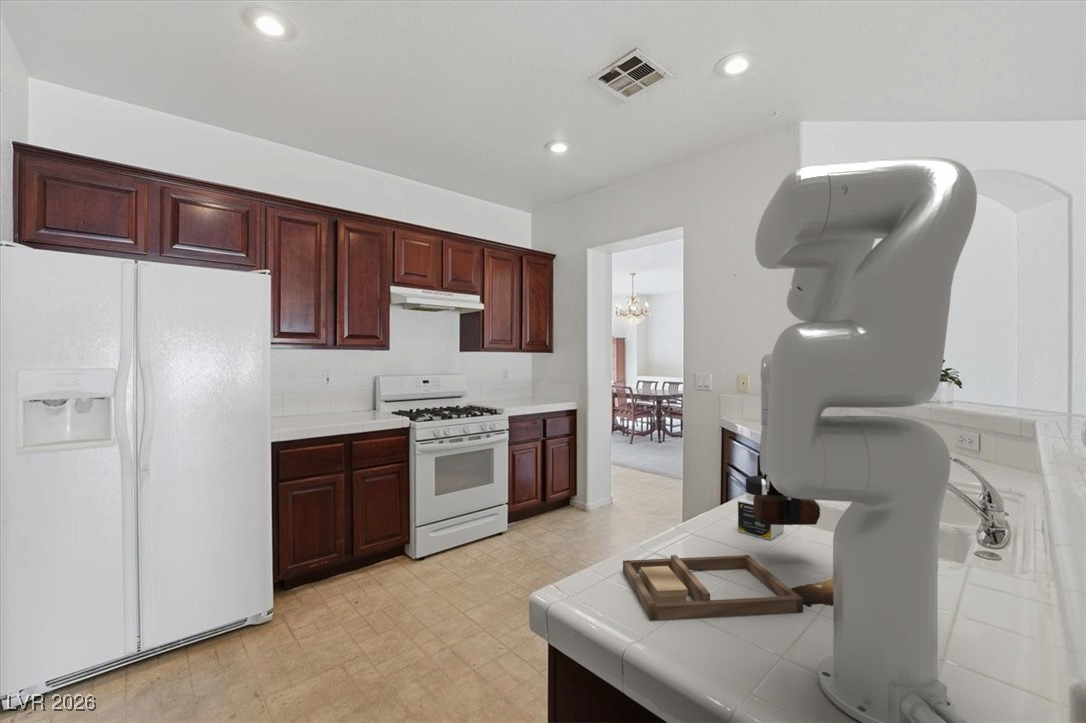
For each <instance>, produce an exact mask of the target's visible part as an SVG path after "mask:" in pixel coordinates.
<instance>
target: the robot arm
mask: <svg viewBox="0 0 1086 723" xmlns="http://www.w3.org/2000/svg"><path fill="white" fill-rule="evenodd" d="M977 193H978V192H977V185H976V182H975V180H974V177H973V176H972V173H971V172H970V170H969V169H968V168H967V167H966V166H965V165H963V163H961V162H959V161H957V160H954V159H950V158H944V157H935V156H933V157H932V156H918V157H917V156H914V157H911V156H910V157H897V158H896V157H895V158H884V159H883V158H880V159H871V160H862V161H854V162H839V163H828V164H827V163H826V164H824V163H823V164H817V165H816V164H815V165H808V166H803V167H800V168H798V169H797V168H796V169H795V170H792V171H791V172H789V174H787V176H786V177H785V178H784V179H783V180H782V182H781V183H780V185H779V187H778V188H777V189H776V192H775V193H774V195H773V196H772V198H771V200H770V201H769V203H768V204H767V206H766V208H765V210H764V212H763V214H762V216H761V218H760V220H759V223H758V227H757V231H756V234H755V242H754V244H755V245H754V248H755V249H754V250H755V256H756V261H757V262H758V264H759V265H760V266H761V267H762V268H765V269H768V270H781V269H785V270H786V269H787V270H788V269H794V270H793V274H792V278H791V283H790V286H789V291H788V293H787V297H786V298H787V299H786V305H787V309H788V310H789V312H790V313H791V315H793V317H795V318H797V320H800V321H802V322H798V323H794V324H792V325H789V326H788V327H787V328H785V329H784V330H783V331H782V332H781V333H780V334H779V335H778V338H777V340H776V342H775V344H774V346H773V347H774V348H773V351H772V353H767V354H764V355H763V357H761V358H762V359H761V360H760V362H761V363H760V387H761V388H760V392H761V393H760V409H761V410H760V412H761V413H760V414H761V415H760V417H761V418H760V419H761V420H760V422H761V423H760V425H761V432H760V441H759V470H760V472H761V475H762V476H764V480H765V482H766V485H765V488H766V490H769V491H767V495H778V496H781V495H785V499H783V520H784V521H785V522H791V521H800V520H801V500H803V499H808V500H815V501H830V502H831V501H833V502H851V503H850V504H849V506H848V507H847V508H846V509H845V511H844V512H843V514H841V517H840V519H839V520H838V522H837V524H836V526H835V529H834V533H833V539H832V540H833V542H832V543H833V546H832V548H833V550H832V560H833V561H832V572H833V573H832V576H833V606H832V608H833V610H832V613H833V614H832V616H833V618H832V620H833V624H832V625H833V626H832V627H833V635H832V636H833V637H832V638H833V639H832V640H833V642H832V643H833V644H832V645H833V650H832V651H833V655H830V656H828V657H826V658H824V659H823V660H822V661H821V662H820V663H819V665H818V667H817V668H818V670H817V672H818V673H817V674H818V675H817V676H818V678H817V679H818V682H819V685H820V688H821V689H822V691H823V693H824V694H825V695H826V696H827V698H828V699H829V700H830V701H831V702H832V703H833V704H834V705H835V706H836V707H838V708H839V709H840V710H841V711H842V712H844V713H845V714H847V715H848V716H849V717H852V718H853V719H855V720H857V721H859V723H969V722H968V721H967V720H965V719H964V718H963V717H962V716H960V715H959V714H958V712H957V708H956V706H955V704H954V703H953V701H952V699H950V697H949V696H948V691H947V689H948V687H947V685H946V684H945V683H944V682H941V681H940V680H939V679H938V678H939V677H938V676H939V674H938V672H939V669H938V668H939V667H938V664H939V661H938V660H939V658H938V656H939V655H938V654H939V652H938V650H939V648H938V645H939V644H938V643H939V642H938V640H939V639H938V638H939V636H938V635H939V633H938V632H939V631H938V630H939V629H938V627H939V625H938V620H939V619H938V618H939V617H938V616H939V615H938V614H939V613H938V609H939V608H938V606H939V605H938V603H939V601H938V591H939V589H938V585H939V584H938V578H939V577H938V573H939V534H940V522H941V517H942V516H941V515H942V510H943V509H942V508H943V506H944V500H945V496H946V493H947V489H948V485H949V484H948V483H949V479H950V474H951V455H950V451H949V448H948V445H947V443H946V442H945V440H944V439H943V437H942V436H941V435H940V434H939V433H938V432H937V430H935V429H934V428H932V427H930V426H929V425H927V424H925V423H923V422H920V421H917V420H914V419H911V418H905V417H901V416H900V417H899V416H887V415H822V414H823V412H824V411H825V410H826V409H829V408H862V409H864V408H870V409H871V408H872V409H873V408H876V409H877V408H889V409H890V408H905V407H906V408H907V407H915V406H920V405H923V404H925V403H927V402H928V401H930V400H931V399H932V398H933V397H934V395H935V394H936V392H937V390H938V388H939V385H940V381H941V376H942V370H943V365H944V357H945V349H946V338H947V330H948V325H949V324H948V323H949V313H950V307H951V305H950V304H951V296H952V286H953V281H954V275H955V272H956V269H957V265H958V263H959V260H960V257H961V254H962V253H963V249H964V248H965V245H966V243H967V240H968V238H969V235H970V233H971V229H972V228H973V227H972V226H973V224H974V220H975V217H976V213H977V203H978V198H977V195H978V194H977ZM877 239H879V240H880V239H881V240H880V241H878V243H877V244H876V245H875V246H874V244H875V241H876V240H877Z"/></svg>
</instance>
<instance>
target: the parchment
mask: <svg viewBox="0 0 1086 723" xmlns="http://www.w3.org/2000/svg"><path fill="white" fill-rule="evenodd" d="M818 585H819V586H818ZM790 589H791V590H793V591H794V592H795V593H796V594H798V595H799V596H800V597H801V598H803V604H805V606H807V607H808V608H811V607H813V606H812V605H824V606H830V607H833V575H830V576H827V577H824V579H823V580H822V581H820V582H815V583H806V584H805V585H798V586H795V587H790Z"/></svg>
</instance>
